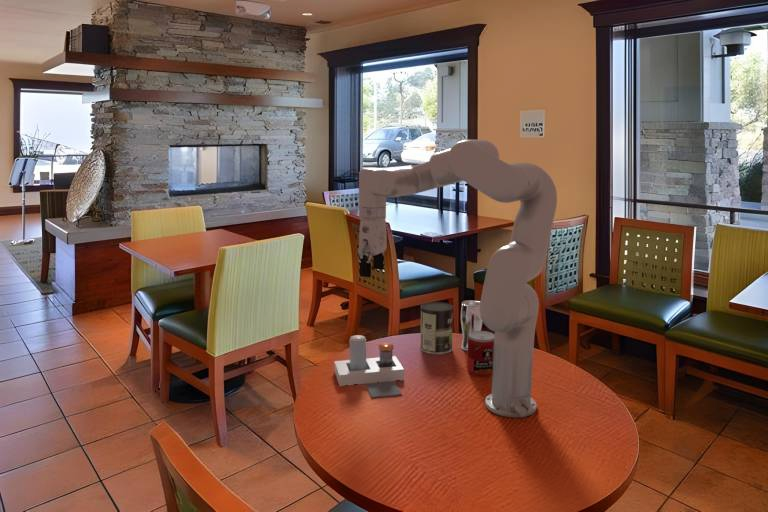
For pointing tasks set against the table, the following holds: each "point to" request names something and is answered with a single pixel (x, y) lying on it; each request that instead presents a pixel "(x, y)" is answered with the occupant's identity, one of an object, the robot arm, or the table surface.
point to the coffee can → (436, 327)
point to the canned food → (480, 353)
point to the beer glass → (470, 320)
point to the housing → (368, 372)
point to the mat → (383, 389)
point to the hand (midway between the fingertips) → (372, 272)
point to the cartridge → (357, 353)
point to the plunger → (385, 354)
